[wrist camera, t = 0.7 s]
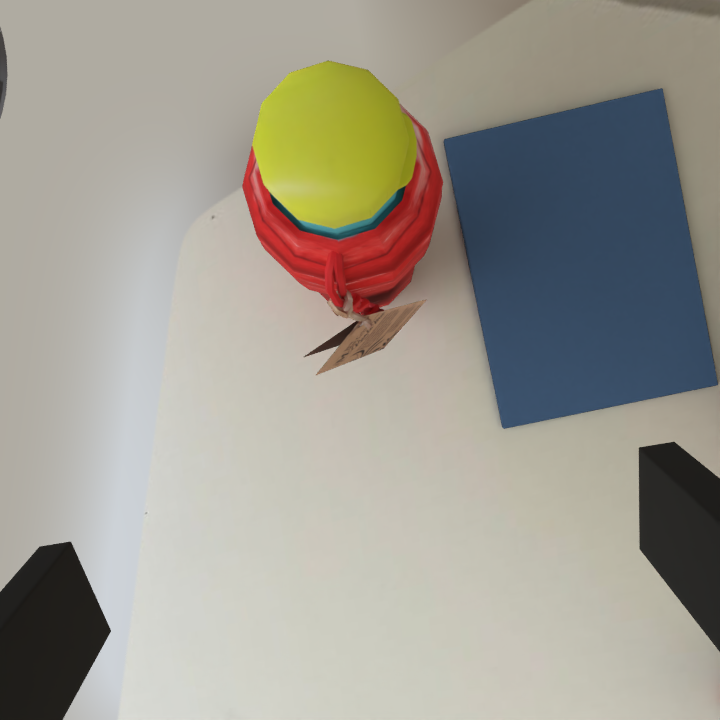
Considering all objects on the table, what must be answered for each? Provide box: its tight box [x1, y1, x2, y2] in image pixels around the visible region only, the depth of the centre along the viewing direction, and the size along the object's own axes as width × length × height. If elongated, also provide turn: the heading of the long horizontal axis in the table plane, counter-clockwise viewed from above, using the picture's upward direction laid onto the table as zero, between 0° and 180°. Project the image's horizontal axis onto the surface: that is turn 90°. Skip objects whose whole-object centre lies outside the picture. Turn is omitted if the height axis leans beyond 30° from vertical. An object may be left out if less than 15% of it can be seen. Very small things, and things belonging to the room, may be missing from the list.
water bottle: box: [242, 61, 443, 375], centre depth 26 cm, size 12×8×25 cm, turn 1°
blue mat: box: [444, 88, 718, 429], centre depth 38 cm, size 22×16×1 cm
